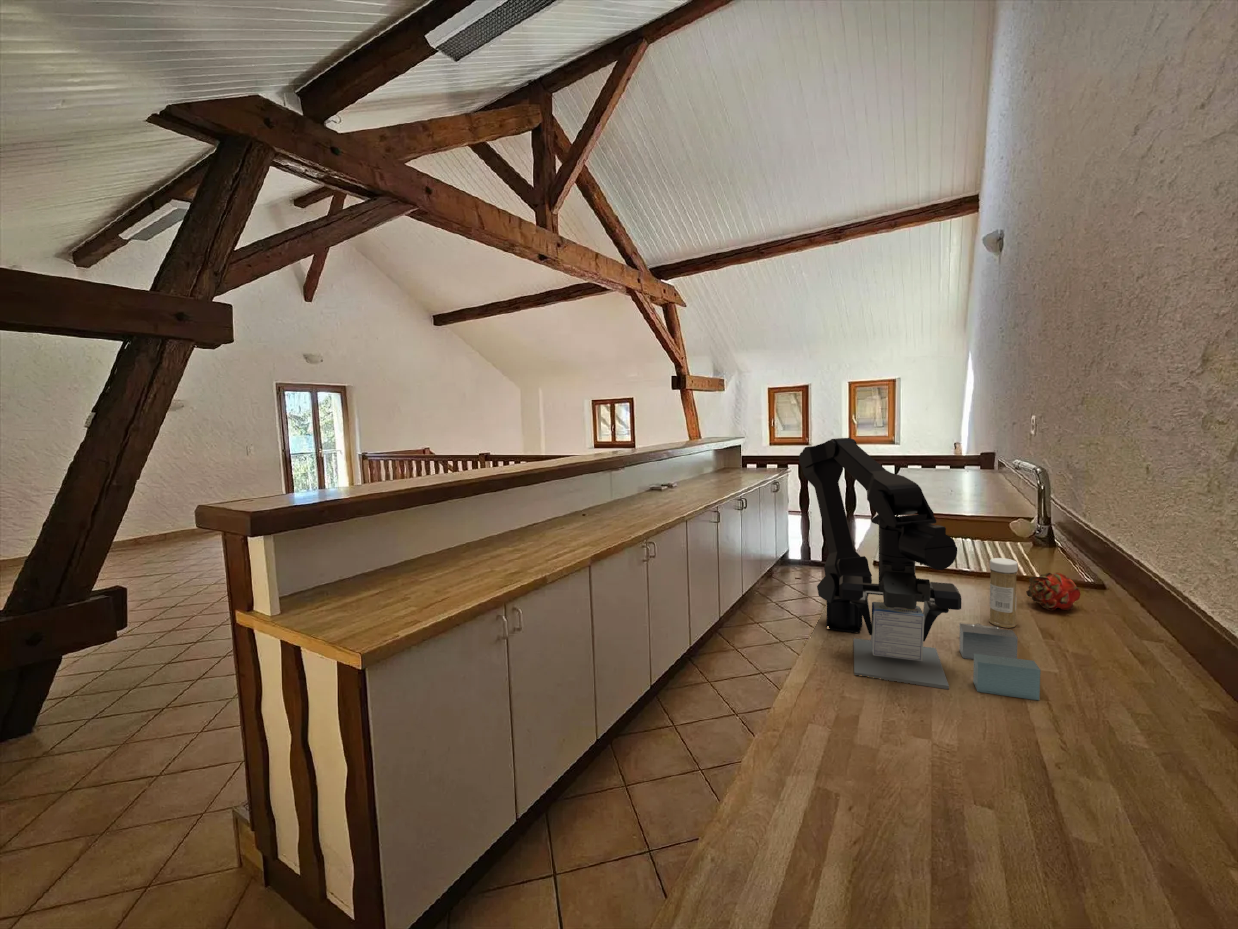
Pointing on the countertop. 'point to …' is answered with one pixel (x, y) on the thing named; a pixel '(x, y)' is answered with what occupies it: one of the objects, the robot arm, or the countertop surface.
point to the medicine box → (897, 632)
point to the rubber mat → (899, 666)
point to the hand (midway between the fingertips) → (896, 637)
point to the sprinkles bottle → (1003, 592)
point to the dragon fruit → (1053, 591)
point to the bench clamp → (998, 662)
